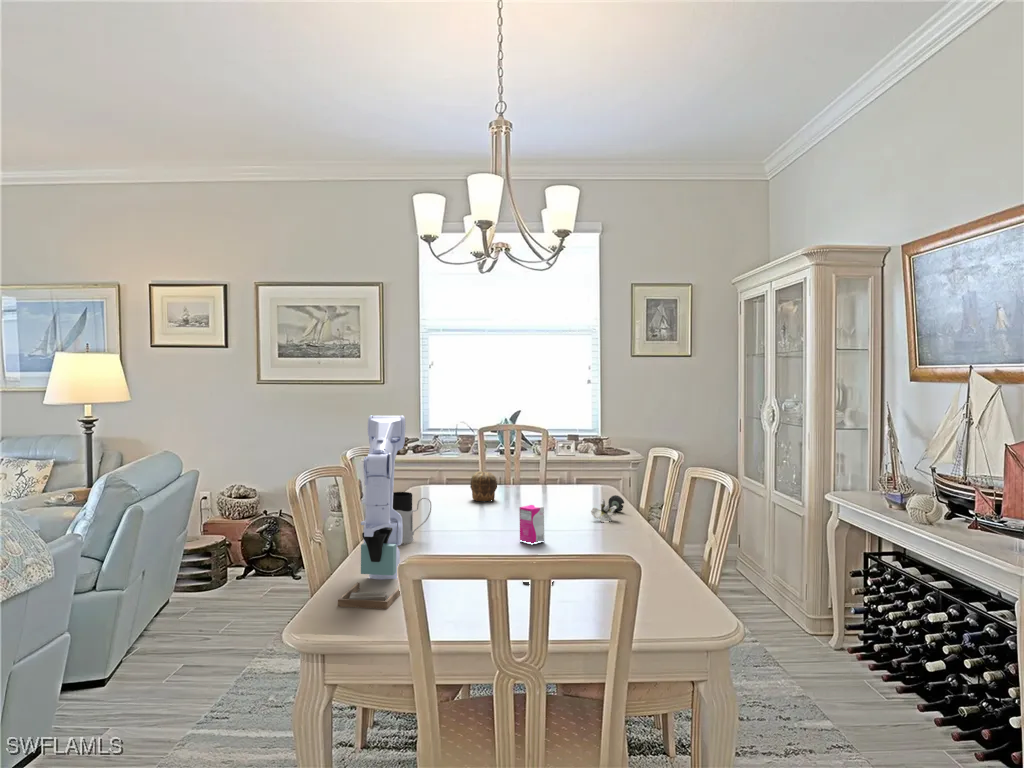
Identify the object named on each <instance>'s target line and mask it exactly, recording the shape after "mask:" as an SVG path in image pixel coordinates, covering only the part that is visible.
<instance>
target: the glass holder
mask: <svg viewBox="0 0 1024 768" xmlns="http://www.w3.org/2000/svg"><path fill="white" fill-rule="evenodd" d="M422 500H427V501H428V502H429V503H430V505H429V506H430V507H429V513H428V514H427V517H426V519H424V521H423V522H422V523H421V524H420V525H418V526H417V527H416V528H415V529H413V528H414V522H413V521H414V519H413V518H414V517H413V516H414V513H413V512H417V511H418V510H419V507H420V506H419V505H420V502H421V501H422ZM416 505H417V508H416V509H413V492H409V491H393V509H394V510H395V511H396V512H398V513H399V514H400V515H401V517H402V524H403V539H402V543H401V544H400V545H404V544H403V543H407V544H410V543H409V542H411V543H413V542H414V541H415V538H414V535H415V532H416V531H417V530H418V529H419V528H420V527H422V526H423V525H424V524H425V523H426V522H427V521H428V519H429V517H430V515H431V513H432V501H431V499H429V498H428V497H421V498H420V499H419V500H418V501H417V504H416ZM413 540H414V541H413ZM412 541H413V542H412Z"/></svg>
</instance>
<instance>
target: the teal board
mask: <svg viewBox="0 0 1024 768" xmlns="http://www.w3.org/2000/svg"><path fill="white" fill-rule="evenodd" d="M395 573H396V544H387V543H383V547H382V555H381V560H380V562H371V559H370V555H369V551H368V547H367V544H366V543H365V542H364V541H363V543H361V544H360V574H361V575H369V574H374V575H394V574H395Z"/></svg>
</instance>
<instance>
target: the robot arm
mask: <svg viewBox="0 0 1024 768" xmlns="http://www.w3.org/2000/svg"><path fill="white" fill-rule="evenodd" d="M367 437H368V442H369V449H368V454H367V456H364V457H363V463H362V464H363V465H362V467H363V468H362V470H363V471H362V473H363V476H364V478H363V479H364V486H365V518H364V520H362V521H360V525H361V526H363V532H362V533H361V534H362V535H361V537H362V539H363V543H364V542H365V543H366V544H367V547H368V551H369V555H370V559H371V562H380V560H381V555H382V547H383V543H387V544H396V573H395V574H394V575H374V574H368V579H374V580H398V579H397V566H398V564H399V563H400V564H401V553H400V552H401V551H400V548H399V547H398V546H401V545H402V544H401V543H402V539H403V524H402V517H401V515H400V514H399V513H398V512H396V511H395V510H394V509H393V492H394V488H395V487H394V486H395V485H394V484H395V461H396V458H397V454H398V451H401V450H402V449H404V445H405V443H406V442H405V441H406V417H405V416H404V414H401V415H373V414H371V415H369V416H368V418H367Z"/></svg>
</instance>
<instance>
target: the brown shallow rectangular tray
mask: <svg viewBox="0 0 1024 768" xmlns="http://www.w3.org/2000/svg"><path fill="white" fill-rule="evenodd" d="M360 587H361V584H360V581H359V582H356V583H354V585H352V587H350V588H349V589H348V590H347V591H345V593H343V594H342V596H340V597H339V598H337V607H343V608H344V607H346V608H358V609H359V608H362V609H363V608H365V609H379V610H380V609H383V610H387V609H389V608H390V606H392V605H393V604H394V602H395V601H396V600H397V599H398V598H399V597H400V595H401V594H400V591H399V586H398V587H397V588H396V589H395V590H394V591H393V593H391V594H390V595H389V597H388V598H386V601H376V600H356V599H350V595H351V593H358V591H360Z"/></svg>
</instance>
